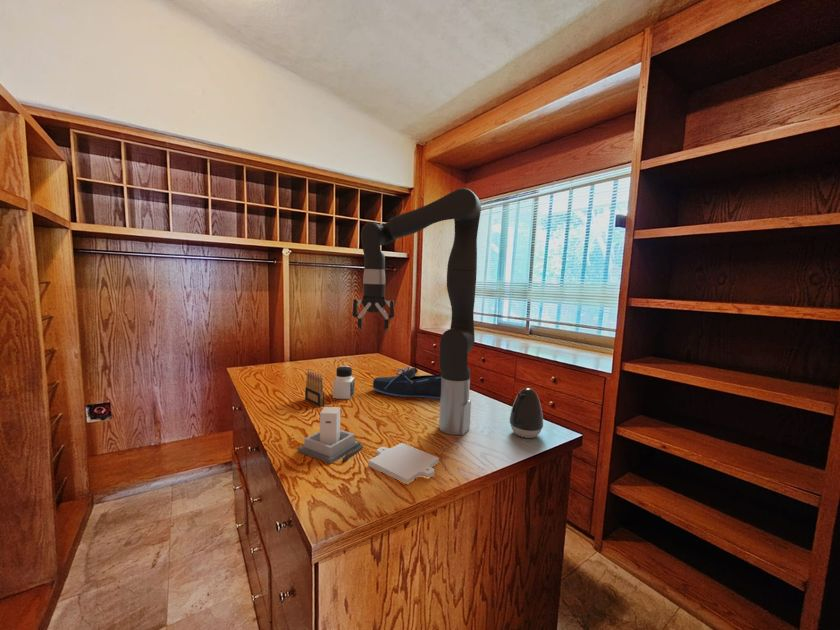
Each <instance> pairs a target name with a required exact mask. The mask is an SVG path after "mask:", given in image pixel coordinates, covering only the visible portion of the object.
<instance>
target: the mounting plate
mask: <svg viewBox="0 0 840 630" xmlns="http://www.w3.org/2000/svg"><path fill="white" fill-rule="evenodd" d="M437 463H439V464H440V458H439V457H438V456H435V455H433V454H431V453H428V452H425V451H423V450H421V449H418V448H416V447H413V446H411V445H409V444H406V443H404V442H400V443H398V444H397V445H395V446H393V447H386V446H380V447H379V448H377V449H376V456H374V457H372V458H370V459H368V467H369V468H372V469H374V470H375V471H378V472H380V473H381V472H383V473H385V474H387V475H389V476H391V477H393V478H395V479H397V480H400V481H402V482H405V483H407V484H408V483H409V482H410V481H412V480H413V479H415V478H416V477H418V476H425V477H431V476H433V475H434V476H435V469H434V467H433V468H432V466H434V465H436V464H437ZM437 465H438V464H437ZM437 465H436V466H437ZM383 473H382V474H383ZM385 474H384V475H385ZM387 475H386V476H387ZM389 476H388V477H389ZM391 477H390V478H391ZM393 478H392V479H393ZM395 479H394V480H395ZM397 480H396V481H397Z"/></svg>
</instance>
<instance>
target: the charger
mask: <svg viewBox="0 0 840 630" xmlns="http://www.w3.org/2000/svg"><path fill="white" fill-rule="evenodd" d="M340 430H341V407H337V406H335V407H333V406H323V408H322V410H321V411H320V414H319V431H320V442H321V443H324V444H327V445H330V446H331V445H333V444H335V443H336V442H338V441H340Z"/></svg>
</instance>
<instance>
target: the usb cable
mask: <svg viewBox="0 0 840 630" xmlns="http://www.w3.org/2000/svg"><path fill="white" fill-rule="evenodd" d="M363 448H364V445H363V444H360V446H358V447H357V448H355V449H354V450H352V451H351V452H349V453H347V454H346V455H344V456H343V457H342V461H343V462H346V461H347V460H348V459H349V458H350V457H352V456H353V455H355V454H356V453H357V452H358V451H360V450H362V449H363Z"/></svg>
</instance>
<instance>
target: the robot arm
mask: <svg viewBox="0 0 840 630" xmlns="http://www.w3.org/2000/svg"><path fill="white" fill-rule="evenodd" d="M481 213H482V204H481V201H480V198H479V197H478V196H477V194H475V192H473V191H472V190H471V189H469V188H465V187H460V188H457V189H455V190H453V191H451V192H450V193H447V194H446V195H443V196H442V197H440V198H438V199H436V200H434V201H432V202H430V203H428V204H425V205H422V206H421V207H418V208H416V209H413V210H410V211H407V212H404V213H400V214H397V215H395V216H393V217H390V218H389V219H388V221H387V222H385V223H382V224H379V223H376V222H374V221H373V222H372V221H369V222H367V223H365V224H364V225H363V227H362V228H361V232H360V240H361V241H360V243H361V247H362V252H363V255H364V262H363V263H364V264H363V265H364V267H363V279H362V281H363V282H362V288H363V289H362V299H358V298H355V299H353V303H352V314H351V315H352V317H355V318H356V319H357V328H358V329H359V330H363V320H364V319H363V317H364V315H365V314H366V313H367V312H368V313H379V312H380V314H381V315H382V316H383V318H384V322H383V323H384V325H383V326H384V327H383V330H384V331H387V330H388V329H389V325H390V323H389V322H390V319H393V318H395V301H394V300H393V299H392V300H386V281H387V280H386V270H385V269H386V256H385V254H384V252H382V251H381V246H385V245H387V244H389V243H392V242H393V241H396V240H397V239H399V238H400V239H401V238H404V237H407V236H410V235H414V234H416V233H418V232H421V231H422V230H424V229H426V228H427V227H429V226H431V225H433V224H436V223H438V222H444V221H448V220H454V238H453V244H452V247H451V250H450V253H449V257H448V262H447V268H446V291H447V294H448V298H449V303H450V307H451V320H450V321H451V323H450V328H449V329H447V330H446V331H444V332H443V333H442V335H441V336H440V340H439V356H438V357H439V359H438V360H439V364H438V365H439V369H440V372H441V373H440V374H441V393H440V399H439V419H438V420H439V421H438V423H439V424H438V429H439V431H440V432H442V433H445V434H447V435H451V436H452V435H453V436H454V435H455V436H456V435H459V436H464V435H465V434H466V433H467V432H468V431H469V430H470V429H471V409H472V408H471V407H472V400H470V388H471V387H470V386H471V369H470V368H469V367H468V365H469V363H468V359H469V357H468V355H469V353H470V352H471V351H472V349H473V348H474V344H475V339H476V338H475V323H474V309H475V299H476V298H475V297H476V286H477V272H478V270H477V269H478V266H477V265H478V264H477V263H478V243H477V242H478V233H479V225H480V220H481V219H480V218H481ZM361 304H362V306H363V307H364V308H363V309H362V310H361V311H360V313H358V308H359V306H360V305H361ZM386 305H387V306H388V307H389V312H390V313H389V314H388V313H387V311H386V310H385V308H384V307H385V306H386Z"/></svg>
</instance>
